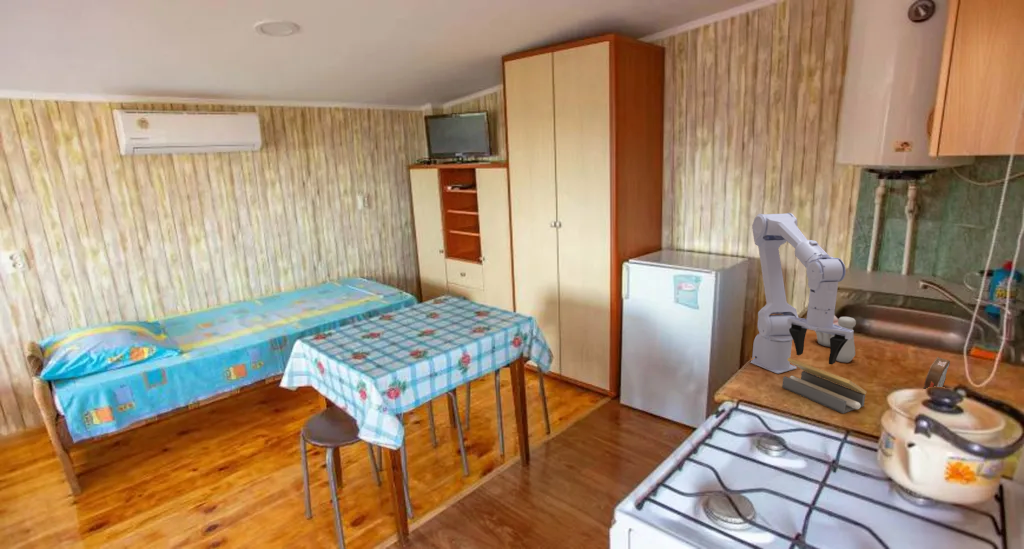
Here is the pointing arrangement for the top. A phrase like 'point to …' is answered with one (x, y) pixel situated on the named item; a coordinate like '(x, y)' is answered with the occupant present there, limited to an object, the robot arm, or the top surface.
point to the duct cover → (827, 376)
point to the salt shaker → (849, 347)
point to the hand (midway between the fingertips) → (815, 358)
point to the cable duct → (824, 392)
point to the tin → (937, 373)
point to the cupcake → (826, 335)
